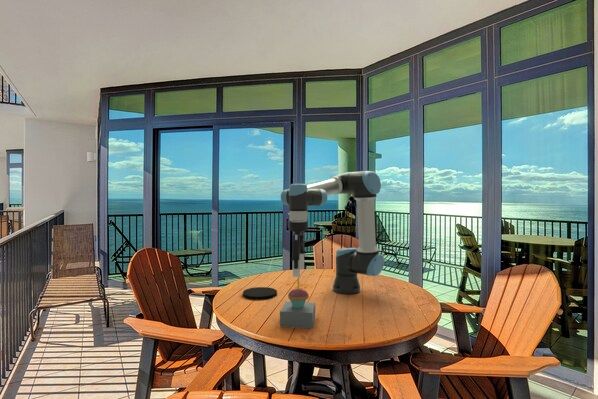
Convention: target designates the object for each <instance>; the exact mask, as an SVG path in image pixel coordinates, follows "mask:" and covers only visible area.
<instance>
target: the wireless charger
mask: <svg viewBox="0 0 598 399" xmlns="http://www.w3.org/2000/svg"><path fill="white" fill-rule="evenodd" d="M277 295H278V290H277V289H275V288H273V287H265V286H262V287H261V286H257V287H256V286H255V287H250V288H247V289H244V290H243V291H242V297H243V298H245V299H247V300H251V301H252V300H253V301H264V300H272V299H273V297H274V298H276V297H277ZM275 296H276V297H275Z"/></svg>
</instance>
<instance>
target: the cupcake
mask: <svg viewBox="0 0 598 399" xmlns="http://www.w3.org/2000/svg"><path fill="white" fill-rule="evenodd" d="M296 286H297V288H296V289H292V290H290V292H288V300H290V301H289V302H291V303H292V307H294V308H303V307H304V304H305V302H307V300H308V299H309V297H310V296H309V295H310V294H309V293H308V291H307V290H304V289H302V288H301V289H300V278H297V285H296Z"/></svg>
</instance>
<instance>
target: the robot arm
mask: <svg viewBox="0 0 598 399" xmlns="http://www.w3.org/2000/svg"><path fill="white" fill-rule="evenodd" d="M381 182H382V181H381V179H380V176H379V175H378V173H376V172H375V171H373V170H365V171H364V170H361V171H348V172H343V173H340V174H338V175H335V176H330V178H329V179H327V180H323V181H319V182H315V183H310V184H307V183H291V184H290V185H289V187H288V188H287V189H284V190H282V192H281V193H280V201H281V203H282V204H283V205H285V206H289V209H288V210H289V212H288V213H287V215H288V216H289V221H290V222H289V223H288V224H289V227H288V230H289V231H290V232H294V234H293V236H292V239H293V240H292V253H291V254H292V256H291V257H290V261H292V277H293V278H300V277H301V270H304V269H305V254H307V253H306V252H307V251H305V240H304V238H305V235H304V233H305V232H307V231H308V230H309V229H308V217H309V216H308V215H309V214H308V207H320V206H322V207H323V206H324V205H326V203H327V201H328V196H331V195H337V196H338V195H341V194H343V195H344V194H346V195H347V194H348V195H353V199H354V200H355V202H356V209H357V210H356V212H357V232H358V233H357V234H358V247H345V248H339V249H337V250H336V252H335V277H334V281H333V284H332V291H334V292H335V293H339V294H342V295H343V294H344V295H345V294H346V295H347V294H349V295H350V294H351V295H352V294H357V293H358V294H359V293H360V292H361V284H360V280H359V278H358V274H359V275H365V276H368V277H377V276H379V275H380V274H381V272H382V271H383V269H384V265H385V257H384V255H383V254H381V253H380V249H379V248H378V246H377V245H376V244H377V243H376V224H375V223H376V222H375V219H376V218H375V199H376V198H377V194H379V193H380V191H381V188H382V183H381Z"/></svg>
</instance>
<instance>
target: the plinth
mask: <svg viewBox="0 0 598 399" xmlns="http://www.w3.org/2000/svg"><path fill="white" fill-rule="evenodd" d="M315 320H316V302H307V301H305V304H304V307H303V308H294V307H292V303H291V301H286V300H285V302H284V303H283V305H282V307H281V309H280V311H279V327H282V328H299V329H304V328H305V329H313V327H314V324H315Z"/></svg>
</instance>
